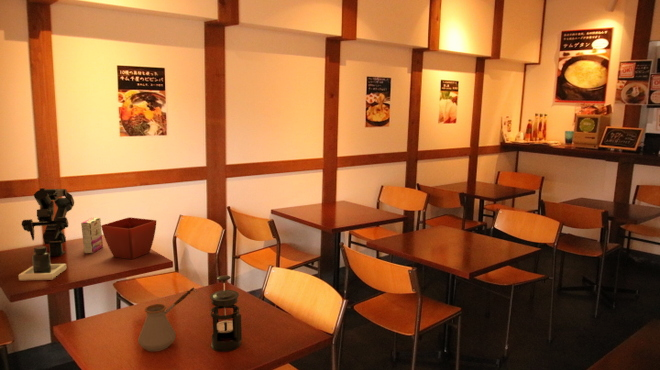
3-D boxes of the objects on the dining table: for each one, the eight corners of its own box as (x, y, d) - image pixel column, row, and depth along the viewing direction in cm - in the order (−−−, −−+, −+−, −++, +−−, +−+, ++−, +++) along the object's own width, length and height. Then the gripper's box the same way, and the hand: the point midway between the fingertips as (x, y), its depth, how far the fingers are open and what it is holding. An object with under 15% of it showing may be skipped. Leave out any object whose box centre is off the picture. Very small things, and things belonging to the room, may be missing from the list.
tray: (35, 269, 227) (34, 264, 226) (66, 268, 228) (66, 263, 228) (19, 280, 213) (18, 274, 213) (52, 279, 214) (51, 274, 214)
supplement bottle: (54, 272, 221) (51, 247, 219) (38, 276, 216) (35, 250, 214) (47, 269, 225) (44, 244, 223) (31, 273, 220) (28, 247, 218)
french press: (203, 345, 157) (200, 277, 153) (225, 334, 164) (223, 269, 160) (229, 356, 150) (226, 285, 146) (250, 344, 157) (249, 276, 154)
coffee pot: (152, 358, 149) (149, 312, 146) (131, 347, 155) (128, 302, 153) (208, 332, 166) (206, 290, 163) (186, 323, 172) (184, 283, 170)
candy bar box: (94, 247, 262) (91, 217, 259) (103, 247, 262) (100, 217, 259) (83, 253, 251) (80, 222, 248) (92, 253, 251) (90, 222, 248)
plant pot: (102, 257, 245) (99, 225, 242) (131, 247, 262) (129, 216, 259) (131, 262, 237) (129, 229, 235) (159, 251, 255) (157, 220, 252)
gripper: (20, 203, 227) (16, 232, 219) (65, 200, 234) (63, 228, 225) (26, 216, 236) (22, 244, 228) (69, 213, 242) (67, 240, 234)
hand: (44, 239), depth 228 cm, fingers open, 9 cm apart
